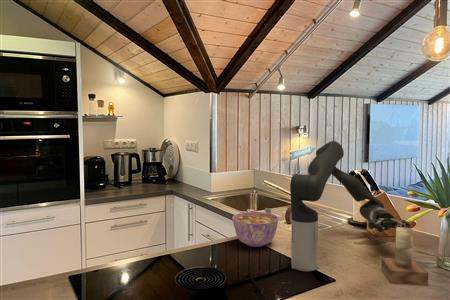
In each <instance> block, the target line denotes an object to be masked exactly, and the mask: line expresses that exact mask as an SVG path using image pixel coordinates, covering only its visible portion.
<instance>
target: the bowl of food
mask: <svg viewBox="0 0 450 300" xmlns="http://www.w3.org/2000/svg"><path fill="white" fill-rule="evenodd" d="M231 218H232V222H233V227H234V229H235V234H236V237H237V239H238V240H239V241H240V242H241V243H243V244H245V245H247V246H248V247H253V248H260V247H263V246H265V245H268V244H269V243H270V242H272V241H273V239H274V238H275V236H276V232H277V228H278V223H279V219H280V218H279V216H278V215H276V214H274V213H271V214H270V213H265V211H246V212H244V211H243V212H240V213H237V214H234V215H233V216H232V217H231Z"/></svg>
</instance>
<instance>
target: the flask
mask: <svg viewBox="0 0 450 300" xmlns="http://www.w3.org/2000/svg"><path fill="white" fill-rule="evenodd" d="M264 210H265V211H264V212H265V213H270V214H272V208H269V207H266V208H264Z"/></svg>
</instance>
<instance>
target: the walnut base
mask: <svg viewBox="0 0 450 300" xmlns="http://www.w3.org/2000/svg"><path fill="white" fill-rule="evenodd" d="M381 271H382V272H383V273H384V276H385V277H386V278H387V280H388V281H389V283H391V284H404V285H420V286H428V285H429V271H427V270H426V269H425V268H424V267H423V266H422V265H421V263H420V262H418V260H417V259H414V258H412V267H410V268H404V267H399V266H397V265H396V264H395V257H393V258H392V257H391V258H390V257H389V258H388V257H381Z"/></svg>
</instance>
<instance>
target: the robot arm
mask: <svg viewBox="0 0 450 300" xmlns="http://www.w3.org/2000/svg"><path fill="white" fill-rule="evenodd" d="M344 155H345V153H344V148H343V146H342V145H341V143H339V142H338V141H336V140H331V141H328V142H327V143H325V144H324V145H322V146H320V147H319V148H318V149H316V151H315V157H314V158H313V159H312V160H311V161H310V163H309V165H308V167H307V172H308V174H301V173H299V174H298V173H296V174H294V175H292V177H291V179H290V182H289V183H290V184H289V189H290V190H289V192H290V193H289V194H290V207H291V214H292V223H291V238H290V239H291V240H290V241H291V242H290V243H291V244H290V246H291V247H290V248H291V249H290V252H291V257H290V258H291V259H290V260H291V261H290V263H291V269H292V270H293V269H294V270H297V271H302V272H312V271H316V270H317V269H318V267H319V266H318V265H319V260H318V259H319V258H318V257H319V251H318V250H319V239H318V238H319V213H318V211H317V210H316V209H313V208H311V207H309V206H307V205H306V204H305V203H304V202H303V201H305V202H318V201H319V200H320V199H321V197H322V195H323V193H324V190H325V187H326V184H327V182H328V180H329V178H330V177H331V176H333V177H334V178H335V179H336V180H337V181H338V182H339V183H340V184H341V185H342V186H343V187H344V188H345V189H346V191H347V192H348V193H349V195H350V196H351V198H352V199H353V200H354V201H355V202H358V203H359V202H363V201H365V200H368V201H367V202H365V203H364V204H362V205H361V206H360V207H359V209H358V210H359V211H358V212H359V214H360V215H361V217H362V218H364V219H365V220H367V226H368V228H369V229H370V230H373V229H375V230H376V231H377V232H379V233H383V231H389V230H395V231H396V228H397V227H405V228H410V229H411V223H410V222H409V221H407V220H406V219H401V220H397V219H395V217H394V215H393V214H391V212H389V211H388V210H387V209H386V208H385V205H384V203H383V202H382V200H380V199H378V198H377V197H376V196H374V195H373V194H372V193H371V192H370V191H368V189H367V188H366V186H365V185H364V184H363V183H362V182H361V180H359V179H358V178H357V177H356V176H354V175H351V174H349V173H347V172H346V171H345V172H344V171H343V170H341V169H339V168H338V167H337V164H338V162H340V160H341V159H343V157H344Z"/></svg>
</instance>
